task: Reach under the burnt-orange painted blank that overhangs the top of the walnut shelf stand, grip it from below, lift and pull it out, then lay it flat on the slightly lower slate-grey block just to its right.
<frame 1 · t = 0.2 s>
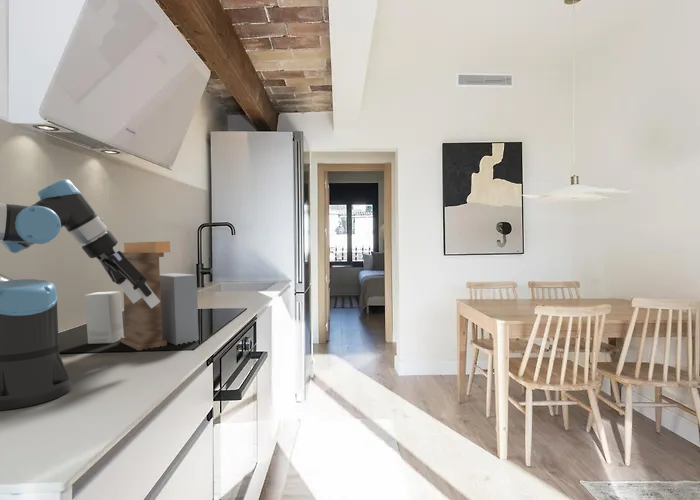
hand: (146, 302, 118), 15 cm above the worktop, tool tilted 35°, fingers open, 13 cm apart
orange blank: (145, 252, 129), point 28 cm above the worktop, touching walnut shelf stand
skincare box: (105, 342, 138), on the worktop
walnut shelf stand: (143, 343, 133), on the worktop
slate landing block: (176, 339, 138), on the worktop
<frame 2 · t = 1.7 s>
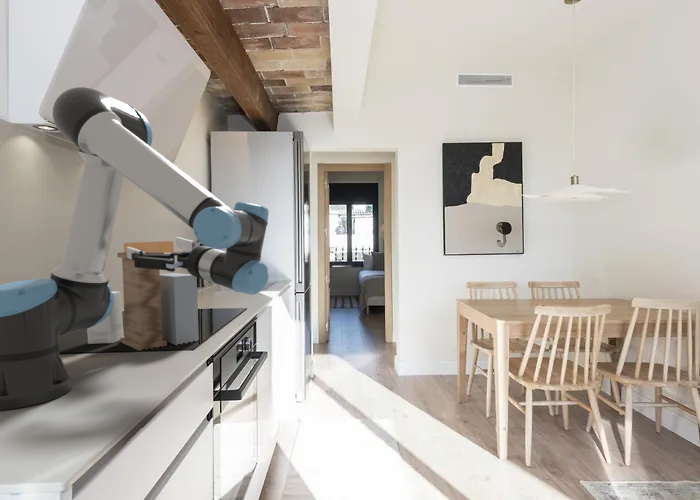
hand: (153, 246, 112), 30 cm above the worktop, tool horizontal, fingers open, 13 cm apart
nothing on the worktop moved.
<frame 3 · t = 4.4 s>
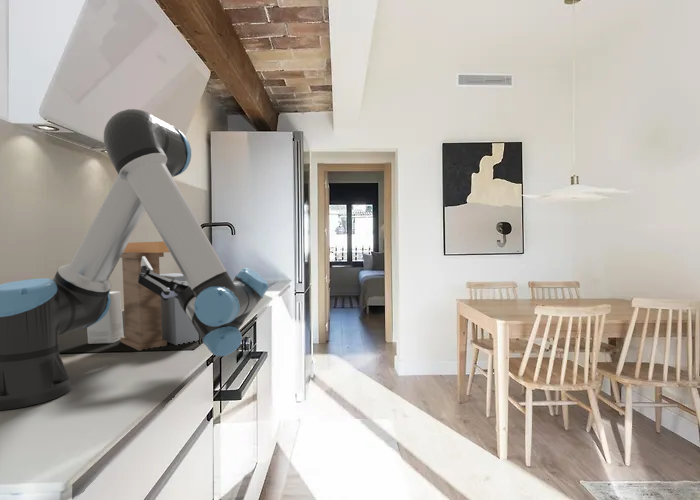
hand: (169, 259, 118), 26 cm above the worktop, tool pointing upward, fingers open, 13 cm apart
nothing on the worktop moved.
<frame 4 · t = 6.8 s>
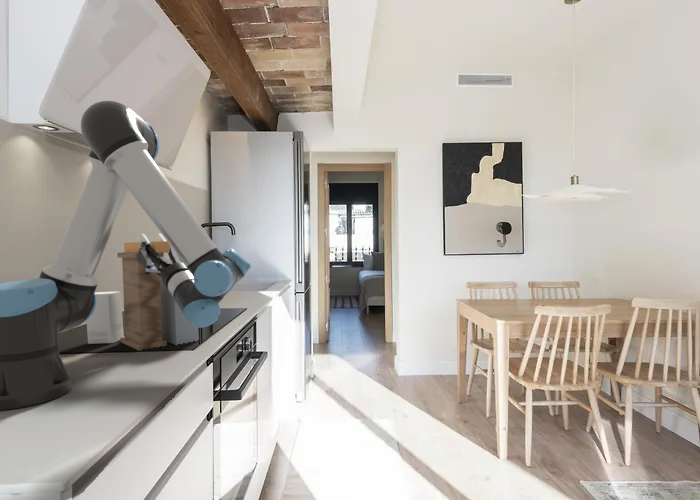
hand: (150, 237, 126), 32 cm above the worktop, tool pointing upward, fingers closed on orange blank, 4 cm apart
orange blank: (145, 252, 129), point 28 cm above the worktop, touching gripper
everything else where it was.
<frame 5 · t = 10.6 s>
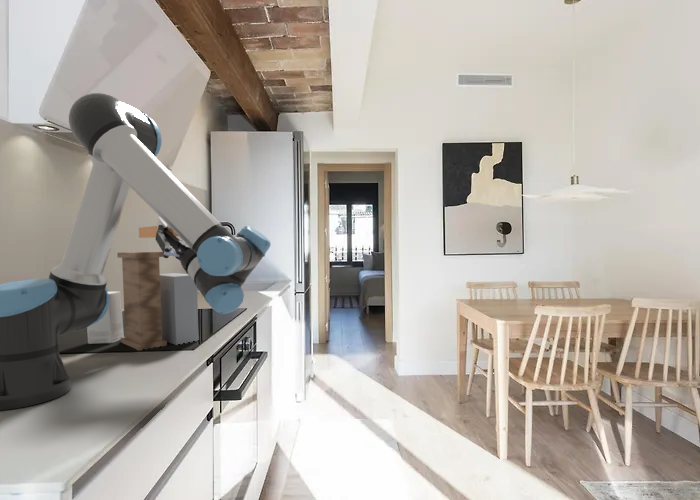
hand: (167, 221, 119), 36 cm above the worktop, tool pointing upward, fingers closed on orange blank, 4 cm apart
orange blank: (162, 236, 123), point 32 cm above the worktop, touching gripper
everything else where it was.
when the fingers open (27 cm above the worktop, at t = 14.4 s): orange blank drops 2 cm, resting on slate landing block.
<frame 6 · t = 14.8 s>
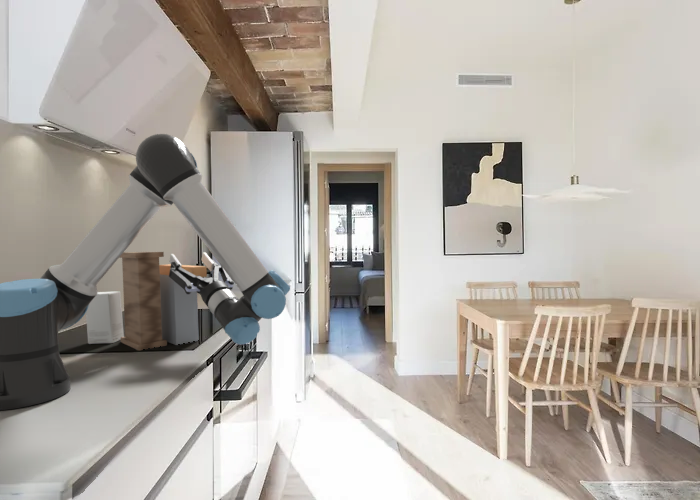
hand: (187, 256, 130), 26 cm above the worktop, tool pointing upward, fingers open, 9 cm apart
orange blank: (181, 275, 134), point 20 cm above the worktop, touching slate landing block
everything else where it was.
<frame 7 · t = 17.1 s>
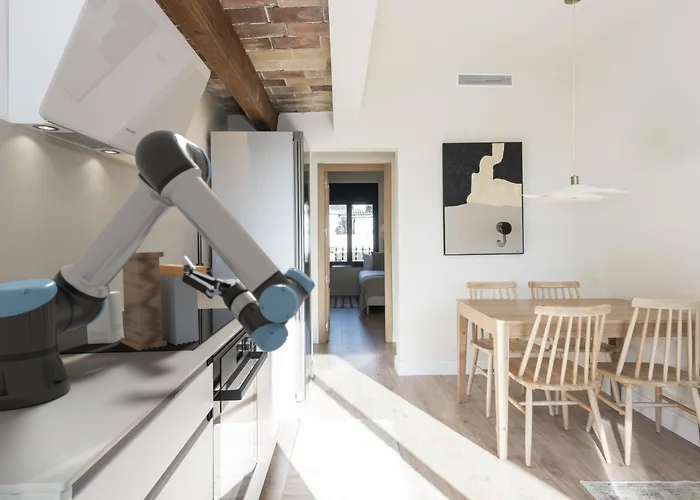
hand: (207, 258, 121), 26 cm above the worktop, tool pointing upward, fingers open, 13 cm apart
nothing on the worktop moved.
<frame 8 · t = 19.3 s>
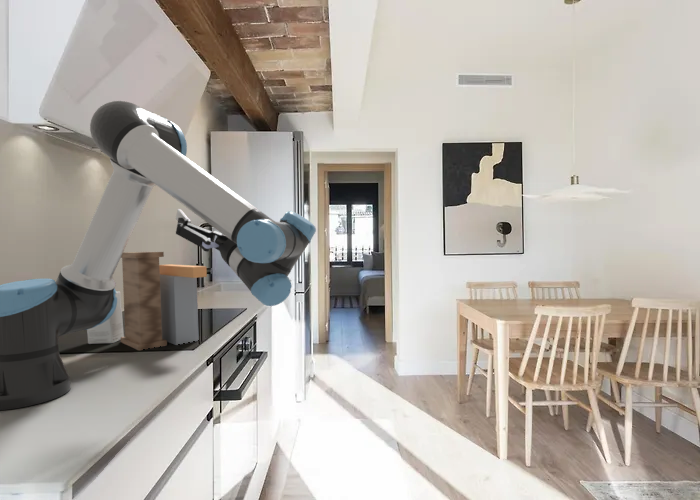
hand: (204, 214, 112), 38 cm above the worktop, tool pointing upward, fingers open, 13 cm apart
nothing on the worktop moved.
at the end: orange blank inside the target area on the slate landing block (1.0 cm from its centre), point 20.5 cm above the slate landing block's base; orange blank tilted 0°; orange blank touching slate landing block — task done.
